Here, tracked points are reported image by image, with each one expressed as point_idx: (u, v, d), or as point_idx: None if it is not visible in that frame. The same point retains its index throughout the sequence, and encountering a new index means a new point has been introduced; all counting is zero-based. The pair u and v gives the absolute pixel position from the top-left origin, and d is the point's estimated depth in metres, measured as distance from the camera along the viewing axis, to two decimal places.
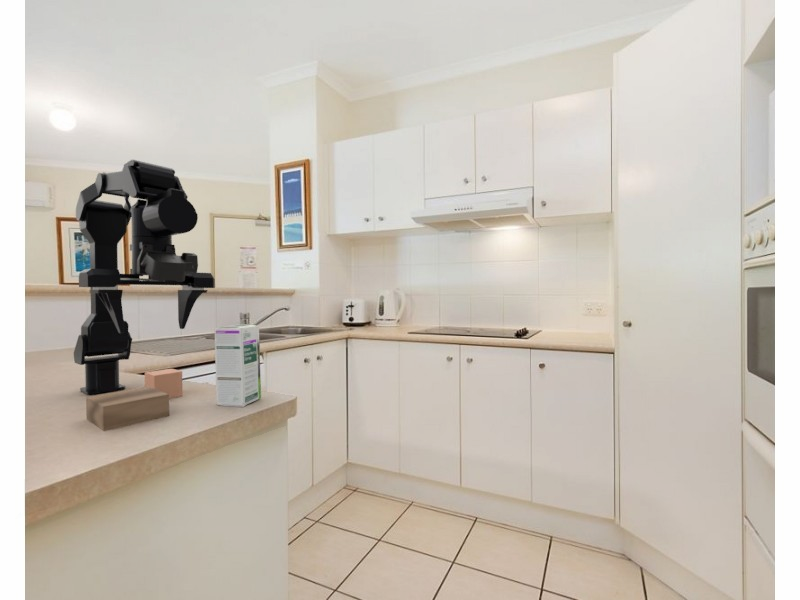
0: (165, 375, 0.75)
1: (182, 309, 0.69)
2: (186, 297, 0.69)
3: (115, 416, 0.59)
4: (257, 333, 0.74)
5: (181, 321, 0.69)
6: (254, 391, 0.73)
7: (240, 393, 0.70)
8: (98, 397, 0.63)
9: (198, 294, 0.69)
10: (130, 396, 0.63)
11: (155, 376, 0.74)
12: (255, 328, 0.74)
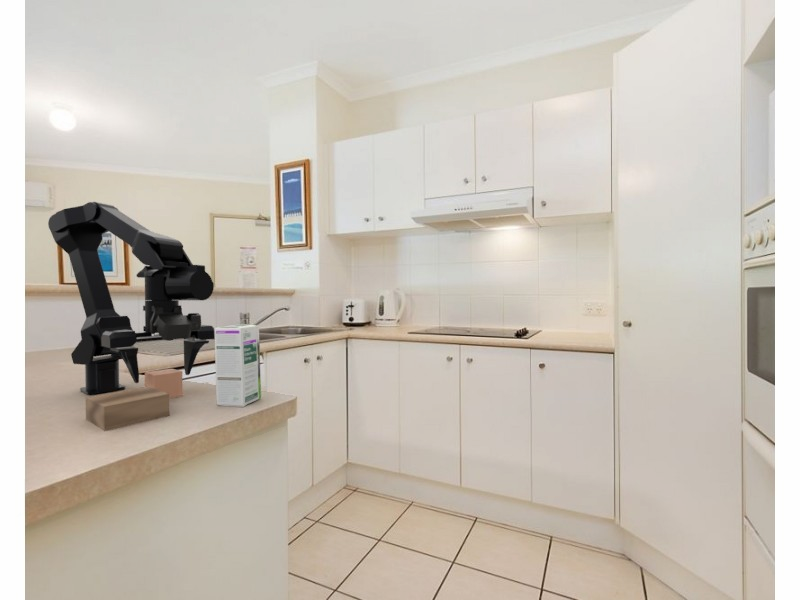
0: (165, 375, 0.75)
1: (187, 358, 0.81)
2: (191, 348, 0.80)
3: (116, 416, 0.59)
4: (257, 333, 0.74)
5: (186, 368, 0.81)
6: (254, 391, 0.73)
7: (240, 393, 0.70)
8: (98, 397, 0.63)
9: (201, 345, 0.81)
10: (130, 396, 0.63)
11: (155, 376, 0.74)
12: (255, 328, 0.74)
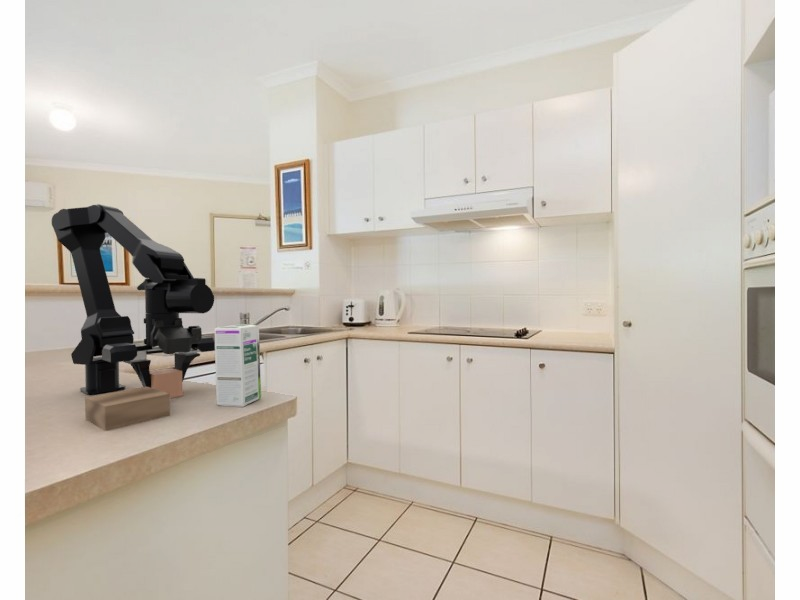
0: (165, 374, 0.75)
1: None
2: (181, 361, 0.79)
3: (117, 416, 0.59)
4: (257, 333, 0.74)
5: None
6: (254, 391, 0.73)
7: (240, 393, 0.70)
8: (98, 397, 0.63)
9: (192, 358, 0.79)
10: (130, 396, 0.63)
11: (155, 375, 0.74)
12: (255, 328, 0.74)
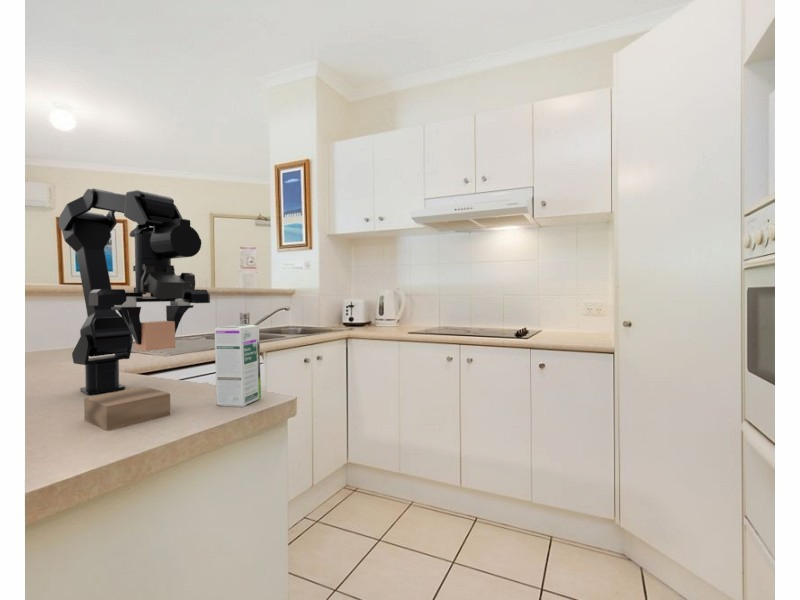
0: (157, 324, 0.71)
1: None
2: (174, 312, 0.75)
3: (118, 416, 0.59)
4: (257, 333, 0.74)
5: None
6: (254, 391, 0.73)
7: (240, 393, 0.70)
8: (97, 397, 0.63)
9: (185, 309, 0.76)
10: (131, 396, 0.63)
11: (146, 324, 0.70)
12: (255, 328, 0.74)
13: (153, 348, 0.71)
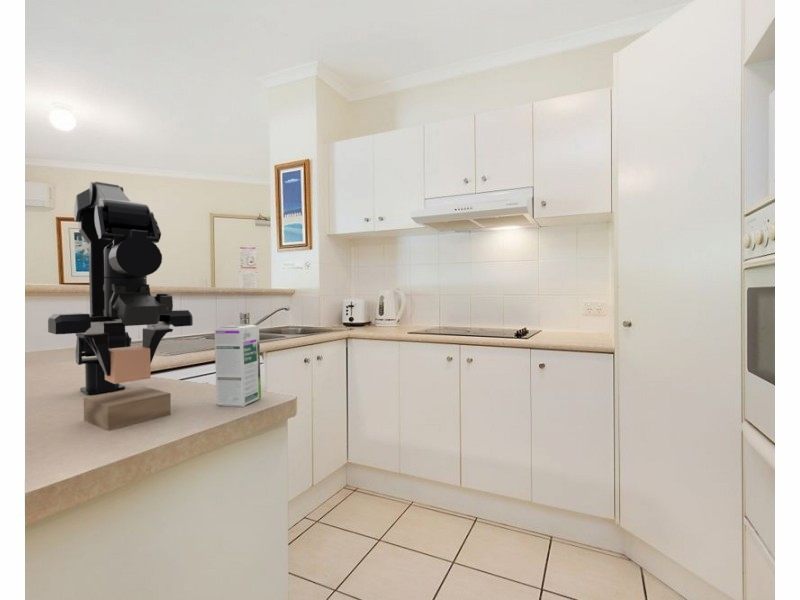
0: (128, 352, 0.62)
1: None
2: (150, 337, 0.66)
3: (119, 416, 0.59)
4: (257, 333, 0.74)
5: None
6: (254, 391, 0.73)
7: (240, 393, 0.70)
8: (97, 398, 0.62)
9: (163, 334, 0.66)
10: (131, 396, 0.63)
11: (115, 353, 0.61)
12: (255, 328, 0.74)
13: (124, 380, 0.62)
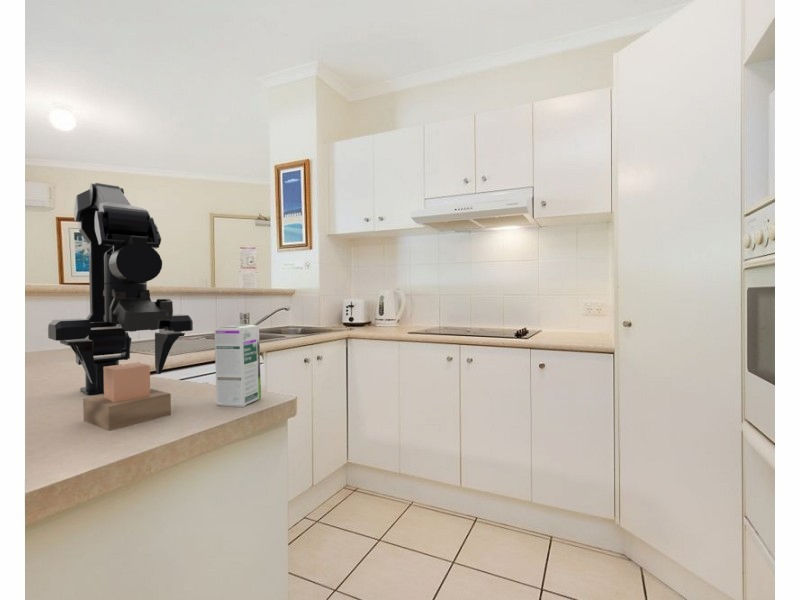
0: (128, 370, 0.62)
1: (158, 353, 0.68)
2: (162, 341, 0.67)
3: (120, 416, 0.59)
4: (257, 333, 0.74)
5: (157, 366, 0.67)
6: (254, 391, 0.73)
7: (240, 393, 0.70)
8: (97, 398, 0.62)
9: (175, 338, 0.68)
10: None
11: (115, 371, 0.60)
12: (255, 328, 0.74)
13: (123, 398, 0.61)
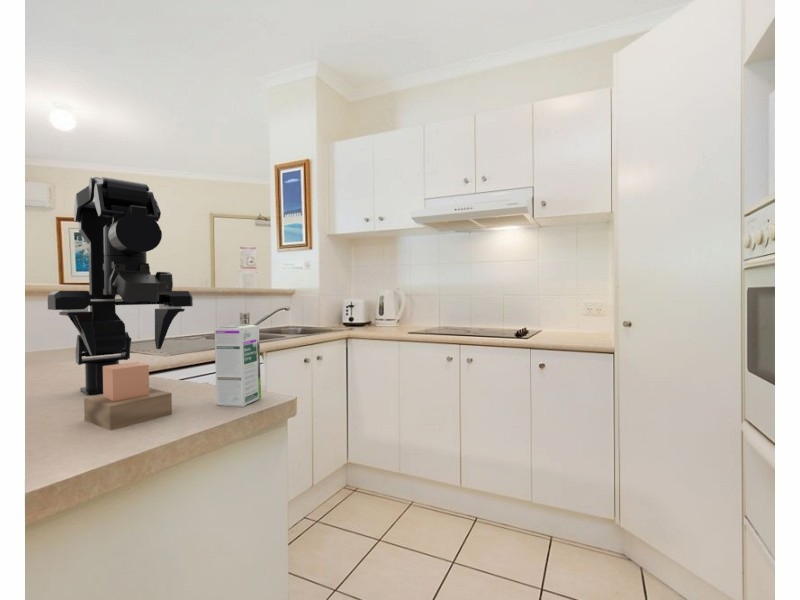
0: (127, 369, 0.62)
1: (158, 328, 0.67)
2: (162, 316, 0.67)
3: (121, 415, 0.59)
4: (257, 333, 0.74)
5: (157, 341, 0.67)
6: (254, 391, 0.73)
7: (240, 393, 0.70)
8: (98, 398, 0.63)
9: (175, 313, 0.67)
10: None
11: (114, 370, 0.61)
12: (255, 328, 0.74)
13: (122, 397, 0.62)
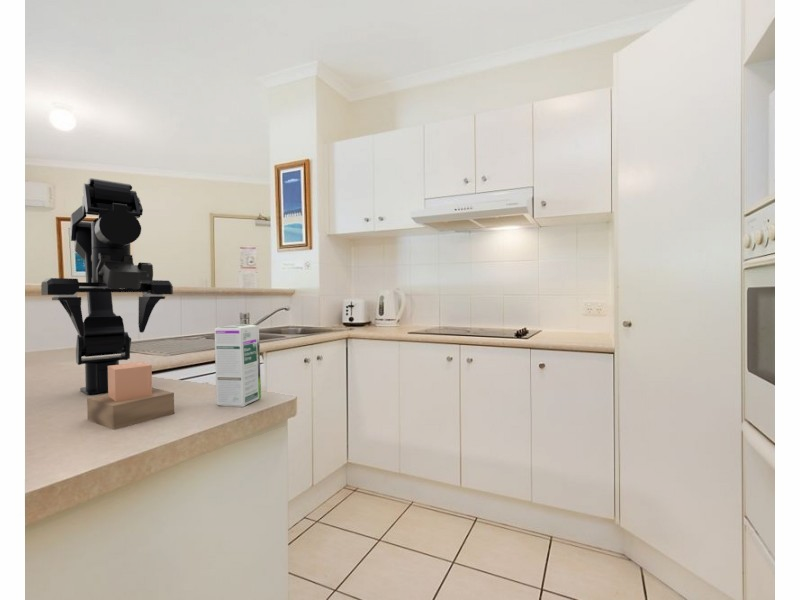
0: (129, 369, 0.62)
1: (141, 314, 0.75)
2: (145, 303, 0.75)
3: (124, 415, 0.60)
4: (257, 333, 0.74)
5: (140, 325, 0.75)
6: (254, 391, 0.73)
7: (240, 393, 0.70)
8: (101, 398, 0.63)
9: (156, 300, 0.75)
10: None
11: (116, 370, 0.61)
12: (255, 328, 0.74)
13: (125, 398, 0.62)
